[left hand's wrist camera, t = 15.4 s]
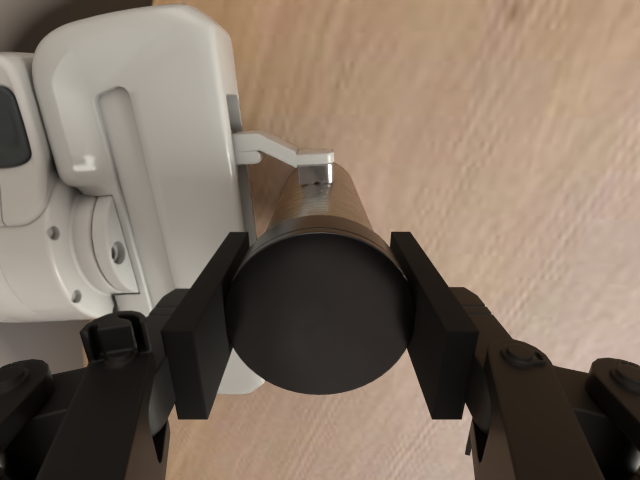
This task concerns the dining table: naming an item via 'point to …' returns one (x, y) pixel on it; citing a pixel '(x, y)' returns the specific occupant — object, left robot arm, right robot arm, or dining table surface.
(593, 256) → the dining table surface
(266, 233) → the lid
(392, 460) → the dining table surface
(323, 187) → the brown canister
